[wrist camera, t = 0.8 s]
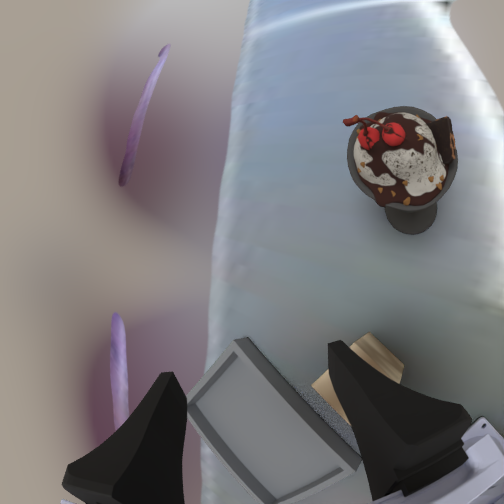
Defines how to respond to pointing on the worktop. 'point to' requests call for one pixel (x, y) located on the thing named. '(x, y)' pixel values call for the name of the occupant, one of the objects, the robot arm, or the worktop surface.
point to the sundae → (403, 163)
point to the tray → (266, 429)
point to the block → (374, 356)
